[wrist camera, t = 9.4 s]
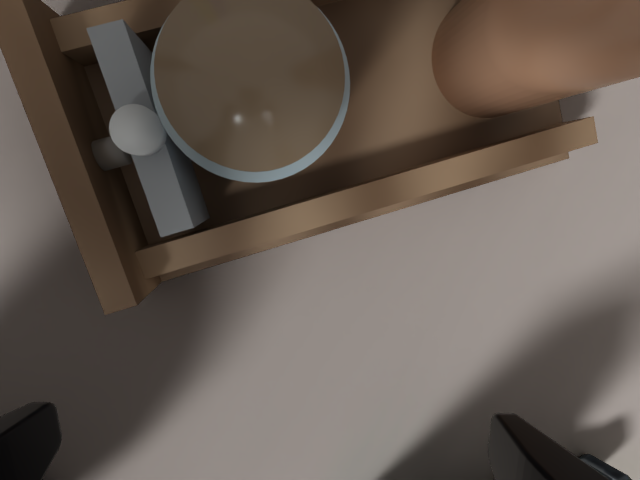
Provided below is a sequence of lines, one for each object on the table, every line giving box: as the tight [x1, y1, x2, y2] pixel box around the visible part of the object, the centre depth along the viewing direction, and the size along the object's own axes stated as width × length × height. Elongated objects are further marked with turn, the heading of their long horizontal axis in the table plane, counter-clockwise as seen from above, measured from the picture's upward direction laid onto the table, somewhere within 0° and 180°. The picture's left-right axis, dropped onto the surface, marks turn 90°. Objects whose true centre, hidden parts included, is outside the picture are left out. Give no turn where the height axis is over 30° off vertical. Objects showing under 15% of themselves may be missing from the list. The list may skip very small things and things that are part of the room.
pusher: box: [86, 19, 210, 237], centre depth 16 cm, size 2×7×5 cm, turn 16°
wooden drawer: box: [0, 0, 598, 315], centre depth 18 cm, size 22×12×4 cm, turn 106°
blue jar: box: [150, 0, 350, 183], centre depth 15 cm, size 6×6×8 cm
